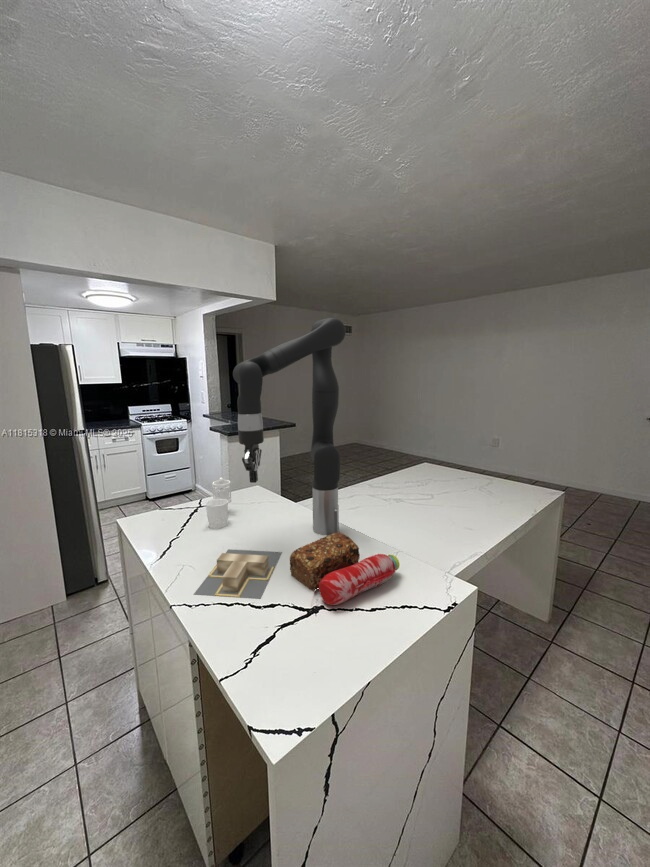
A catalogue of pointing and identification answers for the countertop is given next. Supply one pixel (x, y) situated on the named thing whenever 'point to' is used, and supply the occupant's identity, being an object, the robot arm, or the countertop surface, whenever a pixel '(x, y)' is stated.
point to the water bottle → (356, 578)
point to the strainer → (222, 490)
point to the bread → (322, 558)
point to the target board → (251, 584)
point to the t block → (240, 568)
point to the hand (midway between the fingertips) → (253, 481)
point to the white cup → (217, 513)
